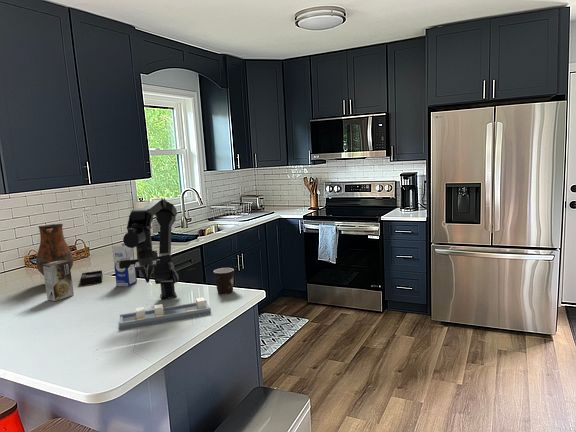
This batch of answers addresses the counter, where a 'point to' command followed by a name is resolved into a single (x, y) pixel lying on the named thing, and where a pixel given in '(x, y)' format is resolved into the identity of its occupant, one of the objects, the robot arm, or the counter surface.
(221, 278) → the coffee mug
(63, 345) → the counter surface
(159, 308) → the off-white rectangular block
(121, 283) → the milk carton
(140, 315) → the beige block
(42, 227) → the pitcher
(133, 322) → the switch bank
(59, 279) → the coffee box
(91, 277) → the battery charger
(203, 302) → the cream block
